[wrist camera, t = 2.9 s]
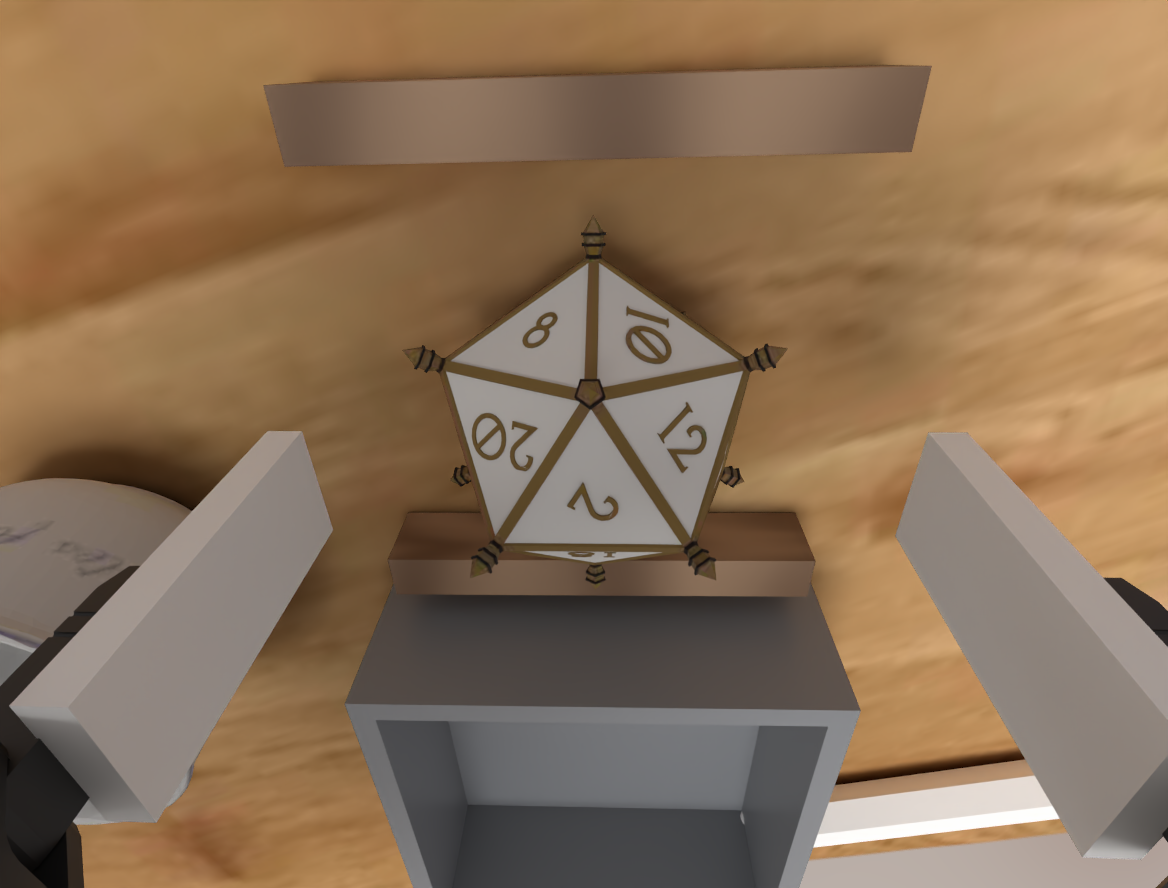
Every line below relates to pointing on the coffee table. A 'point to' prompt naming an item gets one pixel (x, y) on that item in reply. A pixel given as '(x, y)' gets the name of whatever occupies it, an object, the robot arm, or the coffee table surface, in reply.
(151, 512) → the teacup
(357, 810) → the coffee table surface
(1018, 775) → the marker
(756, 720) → the bin
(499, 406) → the game die
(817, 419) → the coffee table surface
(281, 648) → the coffee table surface
